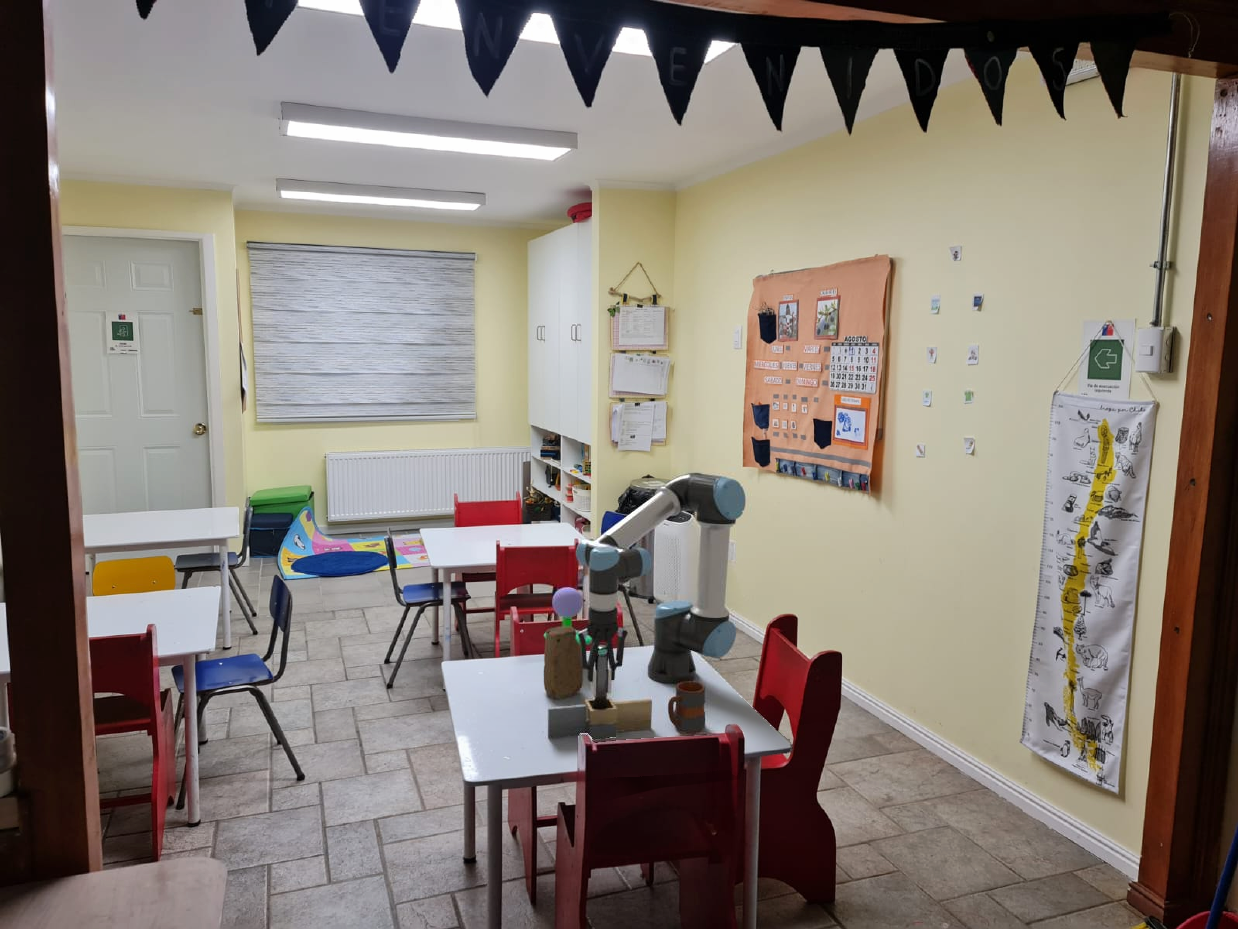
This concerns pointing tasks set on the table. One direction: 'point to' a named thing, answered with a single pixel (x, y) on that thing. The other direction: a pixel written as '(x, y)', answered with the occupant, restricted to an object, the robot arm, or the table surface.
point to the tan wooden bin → (621, 714)
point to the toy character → (568, 607)
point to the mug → (688, 707)
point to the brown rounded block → (562, 663)
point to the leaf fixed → (576, 723)
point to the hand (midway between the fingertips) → (600, 692)
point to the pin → (601, 677)
